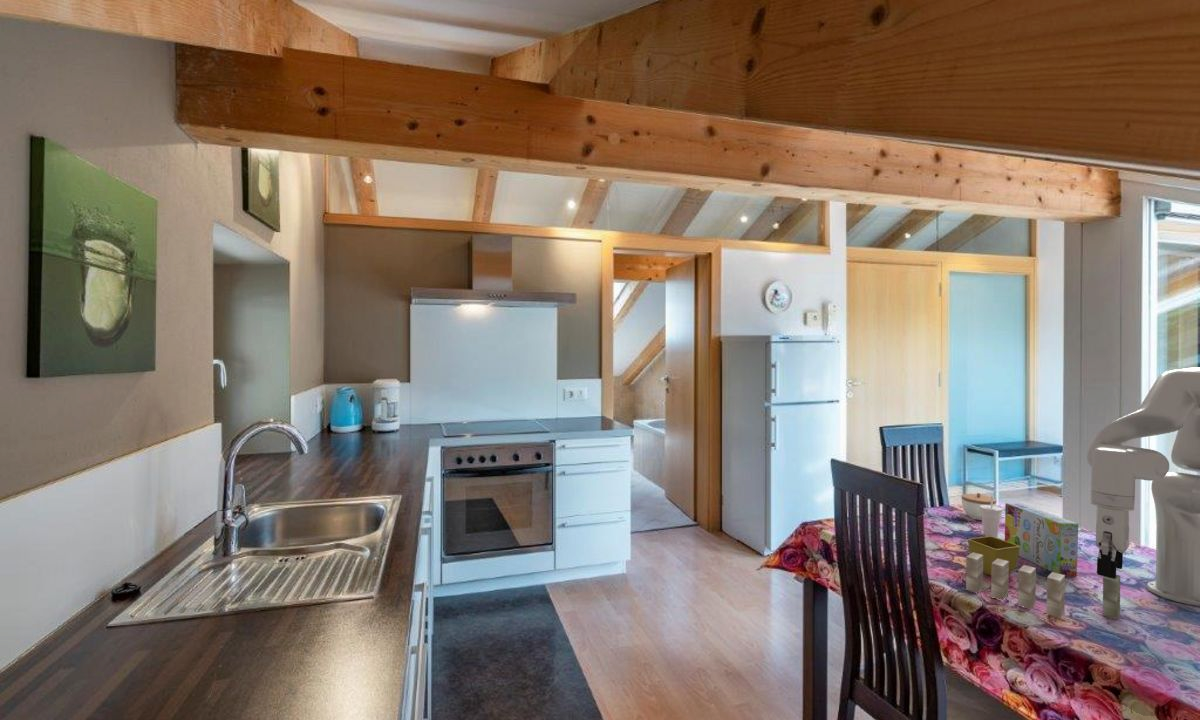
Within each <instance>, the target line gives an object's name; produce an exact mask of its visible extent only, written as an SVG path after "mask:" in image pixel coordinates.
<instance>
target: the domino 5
mask: <svg viewBox="0 0 1200 720" xmlns="http://www.w3.org/2000/svg"><path fill="white" fill-rule="evenodd" d="M1102 582H1103V583H1102V616H1104V617H1106V618H1107V617H1108V618H1110V619H1113V620H1114V619H1115V620H1117V619H1118V618H1119V616H1120V614H1121V575H1119V574H1116V578H1115V579H1113V578H1109V577H1105V576H1102Z"/></svg>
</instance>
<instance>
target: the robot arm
mask: <svg viewBox="0 0 1200 720" xmlns="http://www.w3.org/2000/svg"><path fill="white" fill-rule="evenodd" d="M1176 431H1177V434H1176V436H1175V439H1174V443H1173V446H1172V449H1171V454H1170V458H1171V462H1172V464H1174V465H1175V466H1176V467H1178V468H1179V469H1181V470H1182V469H1183V470H1186V471H1191V472H1195V473H1200V367H1187V368H1184V367H1183V368H1181V369H1172V370H1171V369H1170V370H1167V371H1164V372H1163V373H1161V374H1159V376H1158V377H1157V378H1156V380H1155V382H1153V385H1152V387H1150V390H1149V391H1148V393H1147V395H1146V396H1145V398H1144V400H1143V401H1142V402H1141V404H1140V406H1139V408H1137V410H1136V411H1134V412H1131V413H1129V414H1126V415H1123V416H1122V417H1119V418H1118V419H1116V420H1114V421H1112V422H1110V423H1108V424H1106V425H1104V426H1103V427H1102V428H1101V429H1100V430H1099V431H1098V433H1097V434H1096V436H1095V437H1094V439H1093V440H1092V442H1091V444H1090V445H1089V447H1088V450H1087V454H1086V461H1087V464H1088V465H1089V467H1090V468H1091V479H1090V482H1091V483H1090V504H1092V505H1093V506H1095V507H1096V514H1095V515H1096V516H1095V546H1096V547H1097V548H1099V549H1098V552H1097V554H1098V555H1097V559H1096V560H1097V561H1096V574H1097V575H1098V576H1101V577H1104V576H1105V577H1109V578H1113V579H1115V578H1116V575H1117V569H1119V570H1122V569H1123V560H1124V553H1125V552H1126V551H1127V550H1128V548H1129V547H1130V511H1135V502H1136V501H1135V499H1136V498H1135V497H1136V496H1135V495H1136V480H1143V481H1150V482H1151V486H1150V487H1151V493H1152V498H1153V503H1154V507H1155V516H1156V518H1155V521H1156V525H1155V526H1156V532H1155V533H1156V534H1155V539H1156V540H1155V580H1153V581H1148V582H1147V585H1146V586H1147V588H1146V589H1148V591H1150V592H1151V593H1153V594H1154V595H1157V596H1159V597H1162V598H1164V599H1167V600H1170V601H1172V602H1176V603H1181V604H1184V605H1185V604H1186V605H1190V606H1196V607H1200V474H1191V473H1184V472H1178V471H1177V472H1176V471H1175V472H1174V471H1169V470H1170V462H1169V460H1168V458H1167V456H1166V455H1164V454H1163V453H1161V452H1159V451H1157V450H1154V449H1150V448H1145V447H1144V448H1143V447H1136V446H1129V445H1123V444H1125V443H1128V442H1131V441H1133V440H1137V439H1140V438H1145V437H1153V436H1160V435H1166V434H1170V433H1174V432H1176Z"/></svg>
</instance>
